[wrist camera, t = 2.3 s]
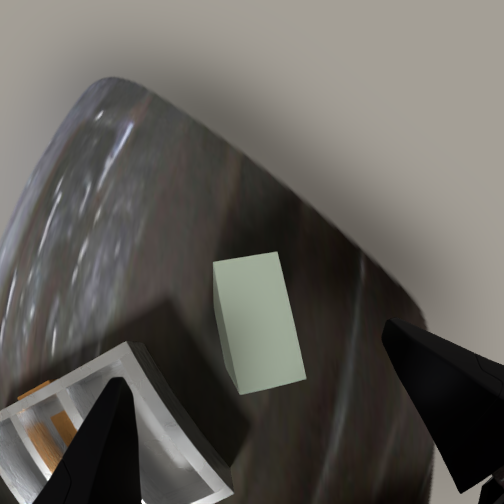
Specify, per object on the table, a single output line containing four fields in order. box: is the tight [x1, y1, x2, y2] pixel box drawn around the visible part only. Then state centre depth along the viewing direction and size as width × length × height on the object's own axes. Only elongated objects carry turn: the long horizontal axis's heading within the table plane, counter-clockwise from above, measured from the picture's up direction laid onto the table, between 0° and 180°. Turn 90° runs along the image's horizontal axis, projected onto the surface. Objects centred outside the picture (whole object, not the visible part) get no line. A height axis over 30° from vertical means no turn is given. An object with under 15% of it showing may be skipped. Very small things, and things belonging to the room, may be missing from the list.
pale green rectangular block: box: [213, 252, 306, 395], centre depth 13 cm, size 4×2×10 cm, turn 12°
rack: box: [0, 341, 234, 504], centre depth 12 cm, size 10×15×4 cm
